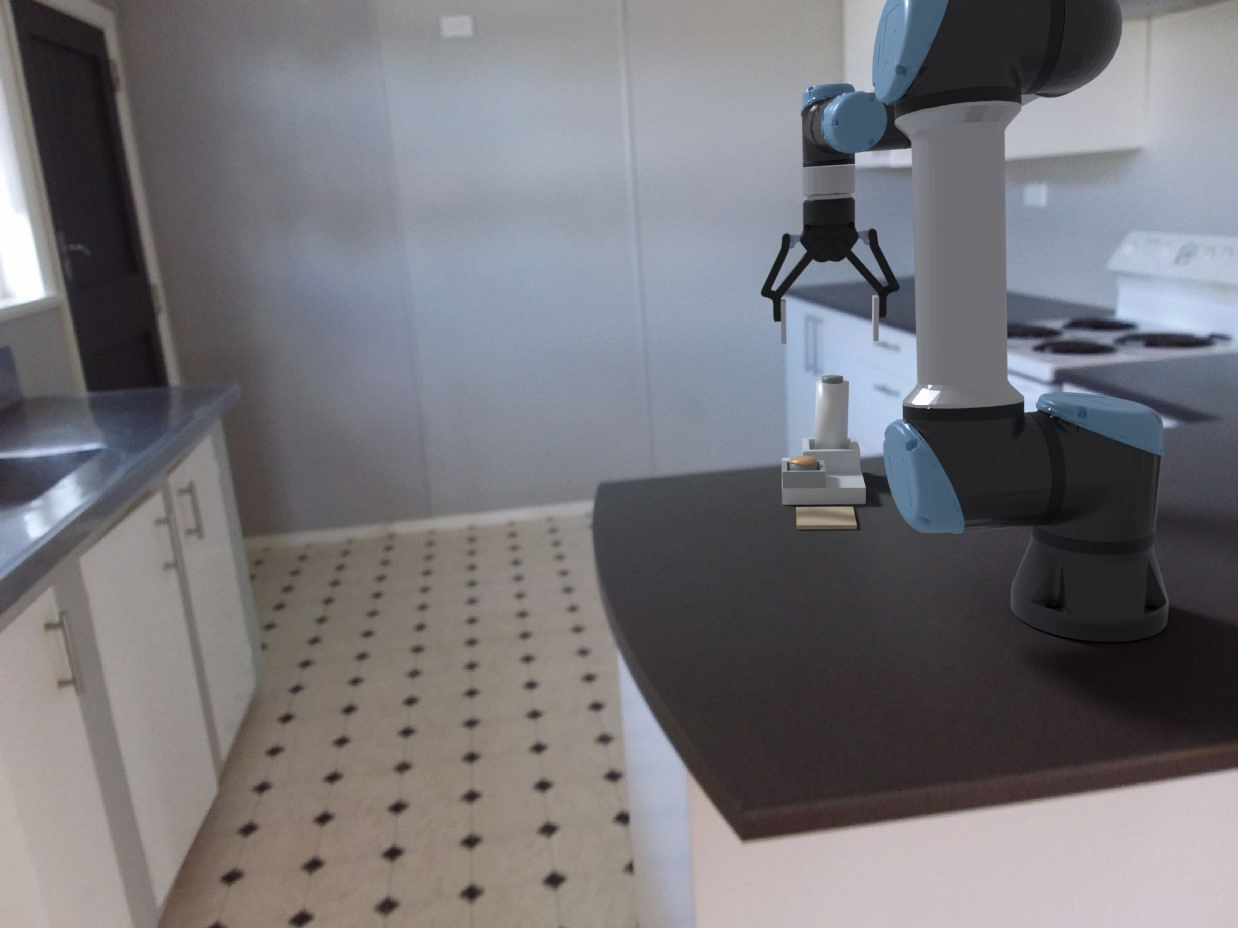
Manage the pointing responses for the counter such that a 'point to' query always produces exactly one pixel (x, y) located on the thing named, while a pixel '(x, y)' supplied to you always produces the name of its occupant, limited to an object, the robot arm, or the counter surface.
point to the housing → (825, 477)
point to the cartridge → (831, 413)
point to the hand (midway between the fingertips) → (829, 341)
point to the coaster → (825, 518)
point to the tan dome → (803, 463)
